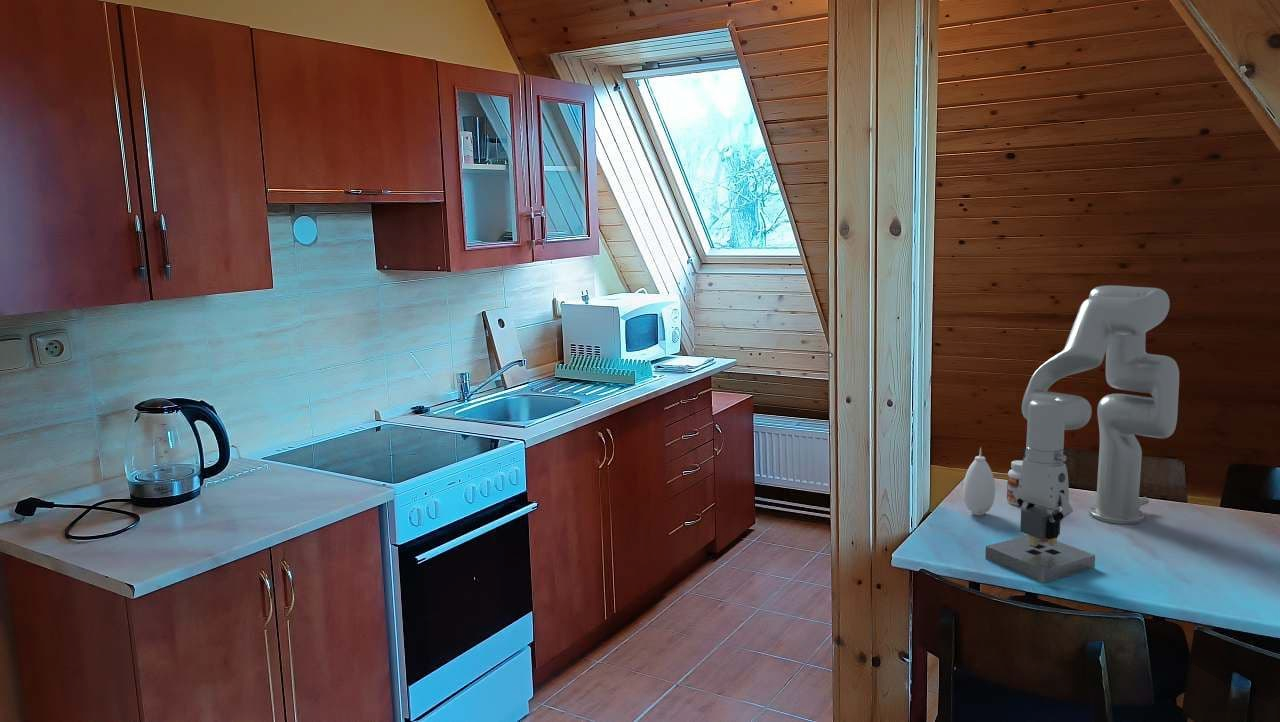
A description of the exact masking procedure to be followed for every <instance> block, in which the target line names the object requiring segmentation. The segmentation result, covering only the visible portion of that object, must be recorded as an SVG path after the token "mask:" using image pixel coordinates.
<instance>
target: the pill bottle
mask: <svg viewBox="0 0 1280 722" xmlns="http://www.w3.org/2000/svg"><path fill="white" fill-rule="evenodd" d="M1022 463H1023V460H1019V459H1018V460H1013V461H1011V465H1010V468H1011V469H1009V471H1008V472H1007V484H1006V501H1007V503H1008V504H1011V505H1013V506H1019V504H1018V502H1017V500H1016V498H1015V497H1014V495H1013V491H1014V490H1015V489H1016V488H1017V487H1018V486H1019V479H1020V472H1021V467H1022ZM1019 507H1020V506H1019Z"/></svg>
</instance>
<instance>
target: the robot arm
mask: <svg viewBox="0 0 1280 722" xmlns="http://www.w3.org/2000/svg"><path fill="white" fill-rule="evenodd" d="M1169 310H1170V298H1169V295H1168V294H1167V292H1166V291H1165V290H1164V289H1161V288H1158V287H1148V286H1146V287H1144V286H1130V285H1129V286H1128V285H1101V286H1099V285H1098V286H1096V287H1094V288H1093V289H1092V290H1090V293H1089V295H1088V298H1087V299H1085V300H1084V301H1083V302H1082V303H1081V305H1080V306H1079V309H1078V311H1077V315H1076V317H1075V318H1074V322H1073V324H1072V327H1071V330H1070V333H1069V334H1068V337H1067V339H1066V342H1065V345H1064V348H1063V349H1062V350H1061V351H1060V352H1058V353H1056V354H1054V356H1052V357H1050V358H1049V359H1047V361H1045V362H1044V363H1042V364H1041V365H1040V366H1039V367H1038V368H1037V369H1036V370H1035V371H1034V373H1033V374H1032V376H1031V377H1030V380H1029V382H1028V384H1027V387H1026V390H1025V392H1024V395H1023V398H1022V403H1021V413H1022V415H1023V418H1024V419H1025V420H1026V421H1027V423H1026V424H1027V426H1026V440H1025V442H1026V443H1025V445H1026V446H1025V457H1024V458H1023V459H1022V461H1023V463H1022V467H1021V472H1020V479H1019V486H1018V487H1017V488H1016V489H1015V490H1014V491H1013V495H1014V497H1015V498H1016V500H1017V502H1018V504H1019V507H1020V511H1021V510H1024V509H1029V508H1033V507H1037V506H1040V507H1043V508H1046V509H1047V513H1048V517H1049V521H1048V522H1047V528H1046V539H1053V538H1057V539H1058V537H1059V535H1058V533H1059V521H1061V522H1062V520H1063V519H1064V518H1066V517H1067V516H1068V515H1070V514H1072V513H1073V511H1074V509H1073V508H1072V505H1071V504H1070V502H1069V497H1070V493H1069V492H1070V490H1069V488H1070V487H1069V486H1070V485H1069V475H1068V474H1069V473H1068V467H1067V464H1066V463H1064V462H1066V460H1067V455H1065V454H1064V444H1065V431H1069V430H1072V431H1073V430H1078V429H1081V428H1083V427H1085V426H1086V425H1087V424H1088V423H1089V421H1090V420H1091V418H1092V413H1093V411H1092V410H1093V409H1092V406H1091V404H1090V402H1089V401H1088V400H1087V399H1086V398H1084V397H1082V396H1080V395H1074V394H1067V393H1062V392H1054V391H1049V389H1050V387H1052V385H1054V384H1055V382H1057V381H1059V380H1060V379H1063V378H1065V377H1067V376H1071V375H1074V374H1075V375H1076V374H1079V373H1082V372H1087V371H1090V370H1093V369H1096V368H1097V367H1099V366H1101V364H1102V363H1103V361H1104V358H1105V379H1106V383H1107V384H1108V386H1109V387H1111V388H1113V389H1117V390H1122V391H1129V392H1136V393H1137V392H1138V393H1144V394H1149V395H1151V397H1147V396H1142V395H1134V394H1126V393H1111V394H1107V395H1104V396H1103V397H1102V398H1101V399H1100V400H1099V402H1098V404H1097V409H1096V410H1097V412H1096V413H1097V421H1098V422H1097V423H1098V429H1099V430H1098V431H1099V432H1098V433H1099V450H1098V452H1099V453H1098V467H1097V468H1098V469H1097V480H1096V481H1097V485H1096V502H1095V504H1093V505H1092V506H1089V509H1088V513H1089V515H1090V516H1091V517H1093V518H1095V519H1096V520H1099V521H1102V522H1107V523H1109V524H1110V523H1113V524H1121V525H1134V524H1140V523H1142V522H1144V520H1145V518H1146V517H1145V516H1146V515H1145V513H1144V512H1143V511H1141V510H1140V508H1141V506H1144V505H1148V504H1149V501H1150V500H1149V498H1148V497H1146V496H1143V497H1140V487H1141V486H1140V484H1141V473H1142V472H1141V470H1142V459H1143V458H1142V455H1143V452H1142V447H1141V445H1140V442H1139V441H1138V439H1137V438H1136V436H1142V437H1148V438H1154V439H1155V438H1156V439H1167V438H1169V437H1171V436H1172V435H1173V434H1174V432H1175V430H1176V427H1177V422H1178V414H1179V413H1178V411H1179V408H1178V407H1179V389H1180V369H1179V366H1178V363H1177V362H1176V360H1175V359H1174V358H1172V357H1170V356H1168V355H1163V354H1162V355H1161V354H1152V353H1148V352H1147V351H1146V340H1147V339H1146V337H1147V336H1146V333H1148V331H1150V330H1152V329H1154V328H1155V327H1157V326H1158V325H1160V324H1161V323H1162V322H1163V321H1164V320H1165V319H1166V317H1167V315H1168V313H1169ZM1135 435H1136V436H1135ZM1053 510H1054V511H1055V515H1054V512H1053Z"/></svg>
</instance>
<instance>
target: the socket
mask: <svg viewBox="0 0 1280 722" xmlns="http://www.w3.org/2000/svg"><path fill="white" fill-rule="evenodd" d="M1048 542H1049V539H1046V538H1044V539H1042V540H1039V541H1038V546H1031V545H1030V535H1028V534H1026V535H1023V536H1019V537H1015V538H1014V537H1013V538H1011V539H1008V540H1004V541H1000V542H997V543H993V544H989V545H985V554H984V555H985V559H986V560H988V561H990V562H993V563H995V564H997V565H1000V566H1002V567H1004V568H1007V569H1009V570H1011V571H1014V572H1016V573H1018V574H1021V575H1023V576H1026V577H1028V578H1030V579H1033V580H1034V581H1037V582H1039V583H1042V584H1047V583H1050V582H1053V581H1057V580H1060V579H1063V578H1067V577H1070V576H1072V575H1077V574H1080V573H1084V572H1087V571H1090V570H1093V569H1095V568H1096V567H1095V566H1096V565H1095V564H1096V555H1095V554H1094V553H1091V552H1087V551H1086V550H1082V549H1079V548H1077V547H1075V546H1072V545H1068V544H1066V543H1064V542H1060V541H1058V540H1057V545H1056V546H1051V545H1048Z"/></svg>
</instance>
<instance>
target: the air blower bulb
mask: <svg viewBox="0 0 1280 722" xmlns="http://www.w3.org/2000/svg"><path fill="white" fill-rule="evenodd" d="M962 485H963V486H962V495H963V500H964V504H965V506H966V508H967V510H968V511H970V513H971V514H973V515H975V516H978V517H979V516H982V515H985V514H986V513H988V512H990V509H991V508H992V507H993V505H994V502H995V498H996V484H995V479H994V474H993V471H992V469H991V467H990V465H989V464H988V462H987V460H986V457H985V456H983V455H982V446H981V447H979V455H977V456H975V457H974V459H973V461H972V463H970V465H969V467H968V469H967V471H966V473H965V476H964V481H963V484H962Z"/></svg>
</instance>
